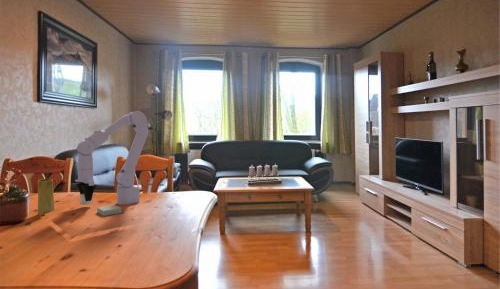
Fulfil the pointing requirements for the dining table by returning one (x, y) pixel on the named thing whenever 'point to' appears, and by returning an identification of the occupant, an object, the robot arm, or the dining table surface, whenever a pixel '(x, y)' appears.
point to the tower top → (109, 210)
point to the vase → (45, 196)
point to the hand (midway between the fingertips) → (86, 199)
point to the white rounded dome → (83, 201)
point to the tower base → (112, 214)
